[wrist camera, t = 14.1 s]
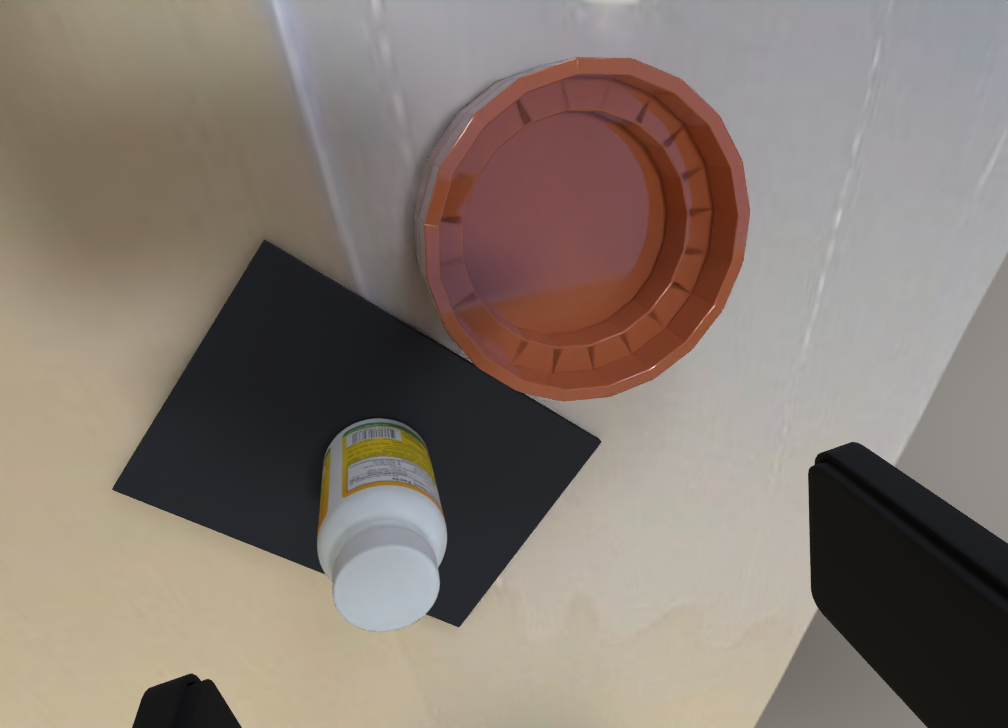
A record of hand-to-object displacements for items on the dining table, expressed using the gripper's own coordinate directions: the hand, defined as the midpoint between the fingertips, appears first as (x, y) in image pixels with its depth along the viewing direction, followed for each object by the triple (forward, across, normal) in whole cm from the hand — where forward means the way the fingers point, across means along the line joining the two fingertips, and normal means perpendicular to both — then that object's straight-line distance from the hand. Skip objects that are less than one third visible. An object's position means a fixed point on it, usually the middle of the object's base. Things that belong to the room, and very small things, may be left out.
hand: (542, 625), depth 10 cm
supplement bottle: (+22, +4, +9) cm, 24 cm away
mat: (+22, +4, +9) cm, 25 cm away
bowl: (+23, -8, 0) cm, 24 cm away
